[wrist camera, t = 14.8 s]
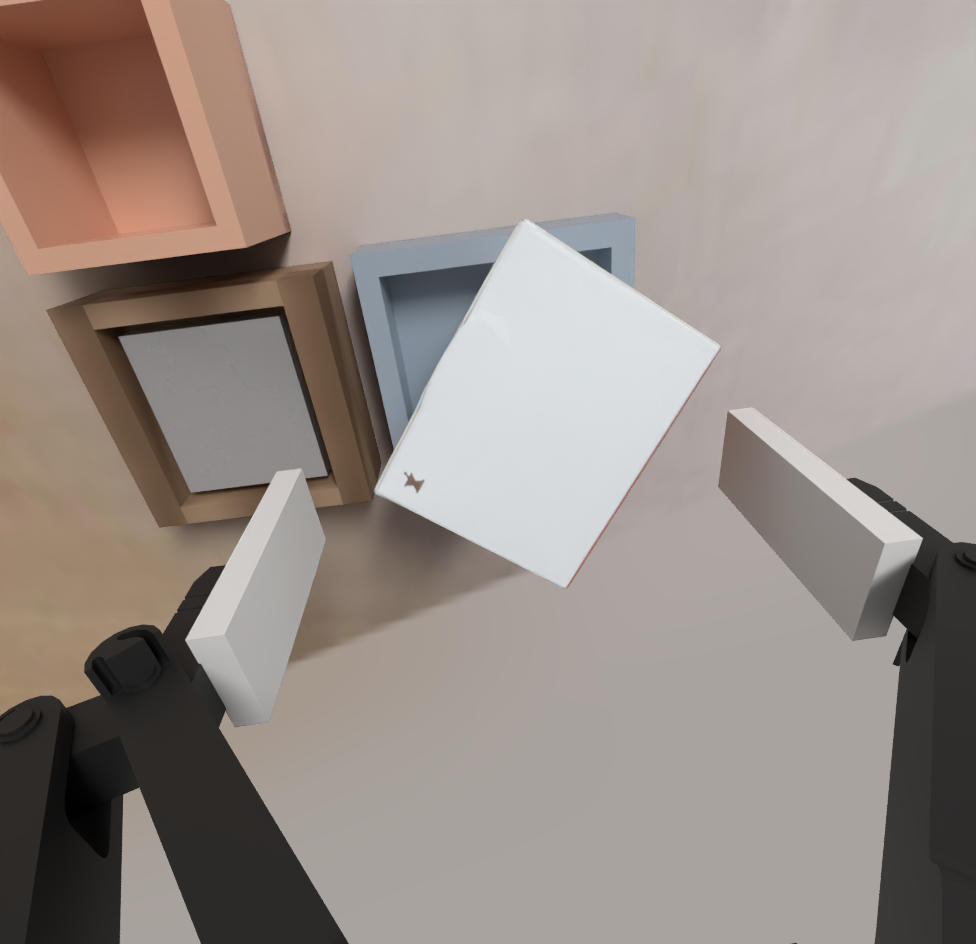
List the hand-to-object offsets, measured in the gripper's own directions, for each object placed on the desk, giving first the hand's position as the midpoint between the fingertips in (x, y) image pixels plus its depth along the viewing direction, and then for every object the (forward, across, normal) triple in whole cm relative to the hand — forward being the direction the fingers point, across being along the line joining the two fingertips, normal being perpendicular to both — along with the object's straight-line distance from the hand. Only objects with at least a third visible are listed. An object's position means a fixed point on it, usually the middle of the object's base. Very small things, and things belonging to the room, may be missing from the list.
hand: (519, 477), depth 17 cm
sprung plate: (+11, -12, 0) cm, 16 cm away
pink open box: (+13, -12, +11) cm, 21 cm away
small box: (+11, +1, -1) cm, 11 cm away
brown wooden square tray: (+13, -12, 0) cm, 18 cm away
